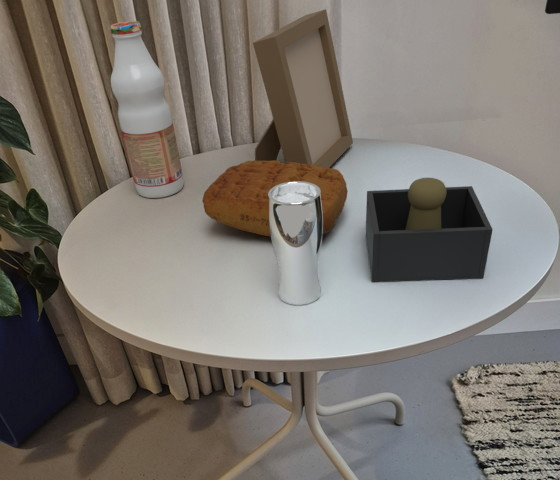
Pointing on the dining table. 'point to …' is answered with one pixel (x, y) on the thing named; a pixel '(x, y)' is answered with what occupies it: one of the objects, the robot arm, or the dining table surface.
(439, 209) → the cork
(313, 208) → the beer glass
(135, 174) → the fruit juice
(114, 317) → the dining table surface
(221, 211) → the clay tablet
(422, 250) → the basket
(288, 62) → the photo frame
